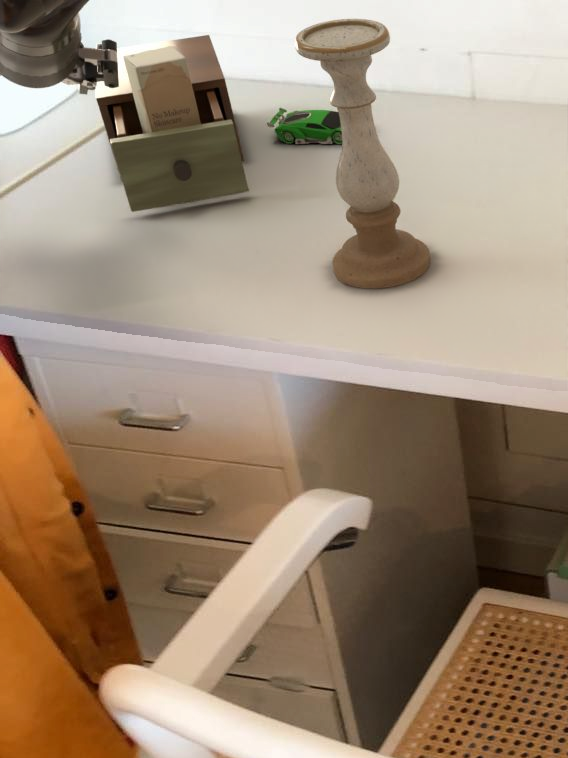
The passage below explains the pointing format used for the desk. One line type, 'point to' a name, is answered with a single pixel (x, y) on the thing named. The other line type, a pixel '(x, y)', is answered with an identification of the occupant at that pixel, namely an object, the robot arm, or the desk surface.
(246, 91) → the desk surface
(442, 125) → the desk surface
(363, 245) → the candle holder
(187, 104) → the box
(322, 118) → the toy car
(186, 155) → the drawer
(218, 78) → the cabinet
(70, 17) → the robot arm
